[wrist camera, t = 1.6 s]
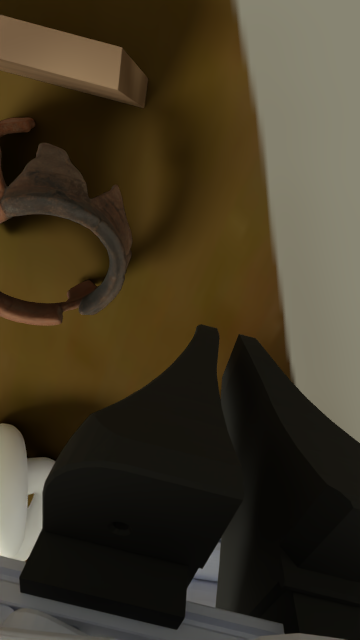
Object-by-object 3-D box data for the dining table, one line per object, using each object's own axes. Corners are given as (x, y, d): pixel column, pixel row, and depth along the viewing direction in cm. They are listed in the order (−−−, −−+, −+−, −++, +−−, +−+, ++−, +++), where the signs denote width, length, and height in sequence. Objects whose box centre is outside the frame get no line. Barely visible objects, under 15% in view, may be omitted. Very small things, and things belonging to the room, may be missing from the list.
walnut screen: (144, 108, 15) (117, 89, 11) (-74, 50, 15) (-181, 10, 11) (148, 78, 14) (122, 47, 10) (-79, 17, 14) (-194, -37, 10)
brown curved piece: (73, 71, 15) (87, 125, 10) (139, 226, 22) (167, 303, 17) (-146, 162, 15) (-246, 262, 10) (-8, 286, 22) (-24, 380, 17)
